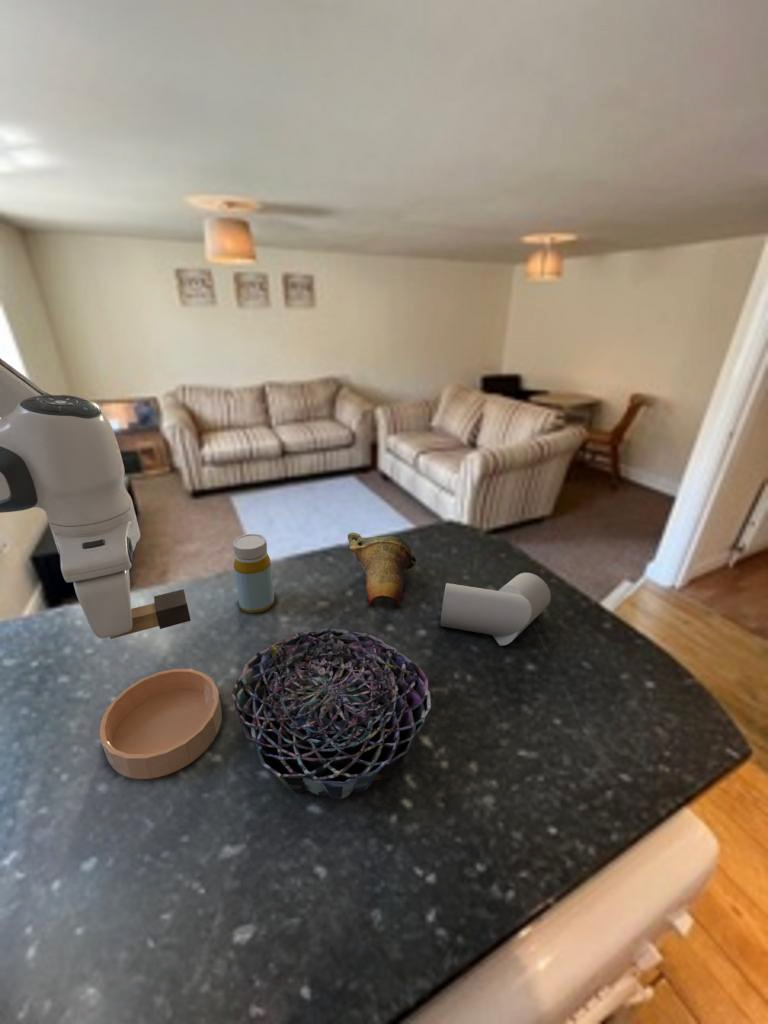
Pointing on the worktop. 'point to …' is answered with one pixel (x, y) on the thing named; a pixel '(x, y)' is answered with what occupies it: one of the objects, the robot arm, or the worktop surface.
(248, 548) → the bottle
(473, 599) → the bent grey cylinder
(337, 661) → the decorative bowl
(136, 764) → the wash bowl
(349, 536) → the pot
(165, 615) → the brush
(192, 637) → the worktop surface
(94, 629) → the robot arm
